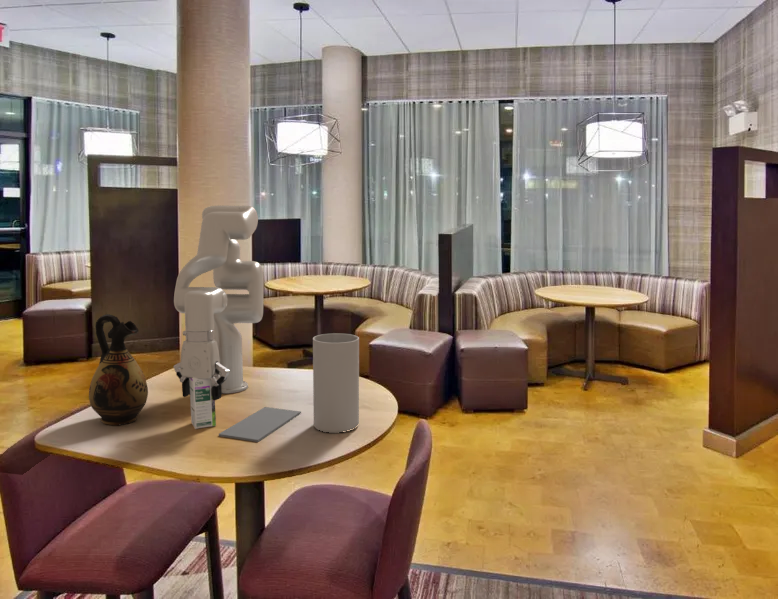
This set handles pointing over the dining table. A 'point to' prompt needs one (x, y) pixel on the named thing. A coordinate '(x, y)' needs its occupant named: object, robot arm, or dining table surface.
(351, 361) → the cylinder vase
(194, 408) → the syrup box
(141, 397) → the ceramic jug
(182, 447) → the dining table surface
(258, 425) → the slate mat
